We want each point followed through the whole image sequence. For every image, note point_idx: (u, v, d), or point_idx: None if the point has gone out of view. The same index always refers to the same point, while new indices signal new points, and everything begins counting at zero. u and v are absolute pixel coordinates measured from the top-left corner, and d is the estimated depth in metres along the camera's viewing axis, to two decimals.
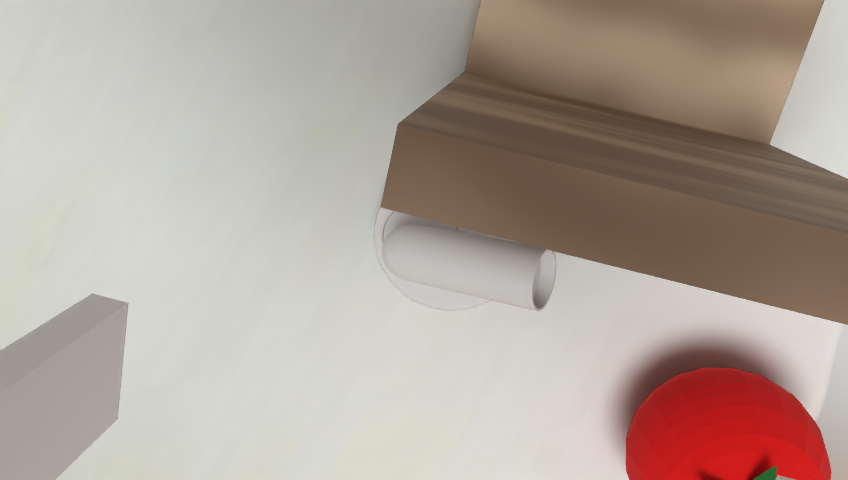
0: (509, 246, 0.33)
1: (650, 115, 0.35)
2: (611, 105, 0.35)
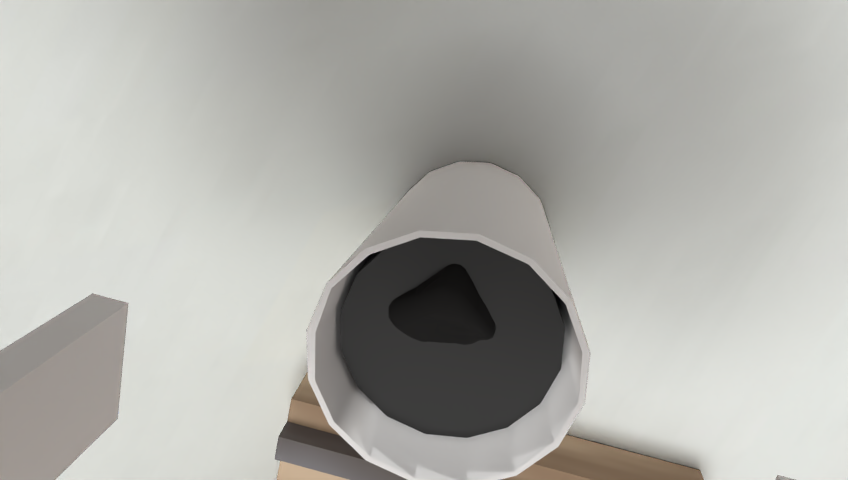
0: None
1: None
2: None
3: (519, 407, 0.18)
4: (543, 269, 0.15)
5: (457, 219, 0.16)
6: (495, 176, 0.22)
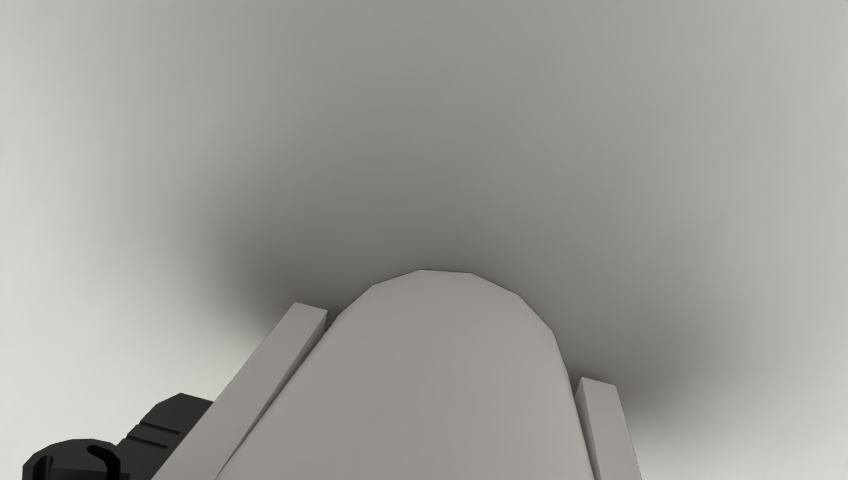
0: None
1: None
2: None
3: None
4: None
5: None
6: (477, 313, 0.13)
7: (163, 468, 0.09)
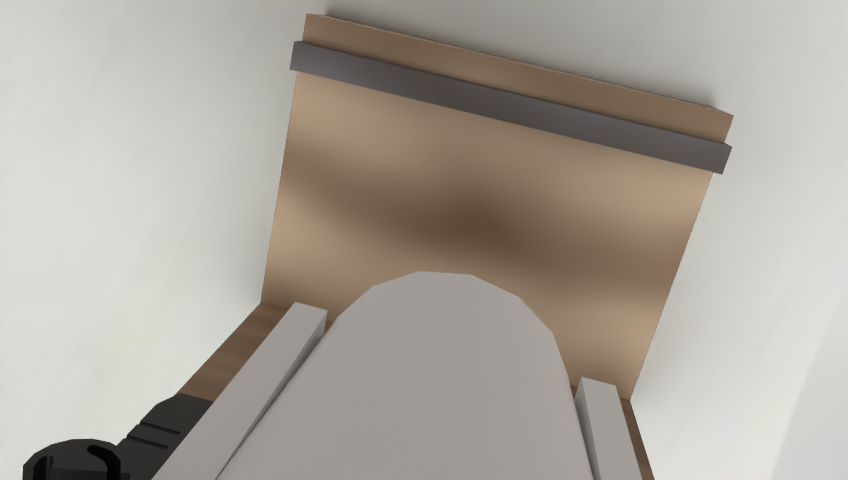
0: None
1: None
2: None
3: None
4: None
5: None
6: (477, 315, 0.13)
7: (163, 468, 0.09)
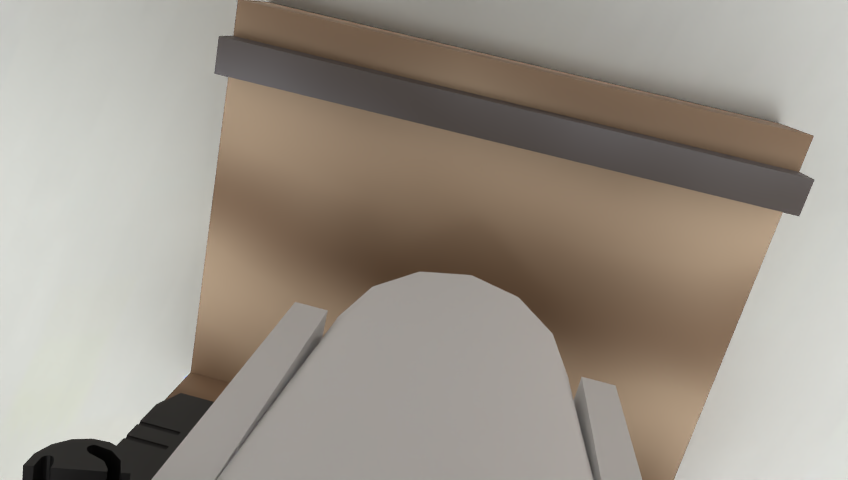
0: None
1: None
2: None
3: None
4: None
5: None
6: (477, 316, 0.13)
7: (163, 468, 0.09)
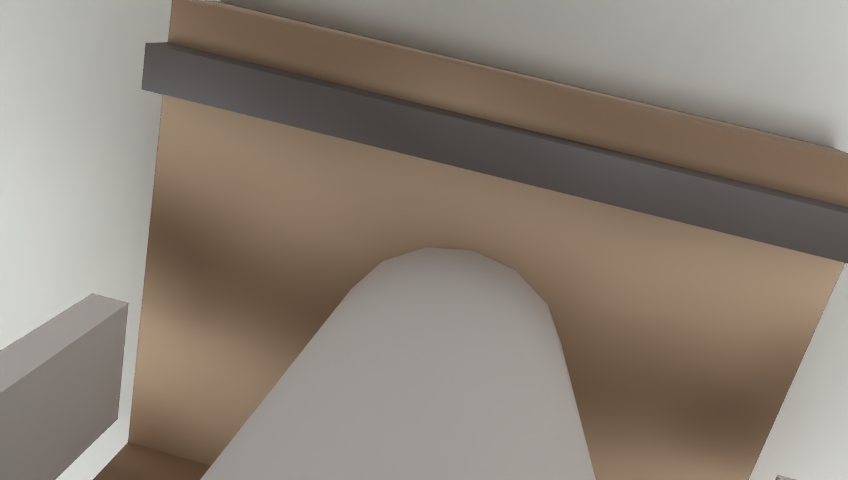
0: None
1: None
2: None
3: None
4: None
5: (389, 449, 0.08)
6: (478, 283, 0.14)
7: None
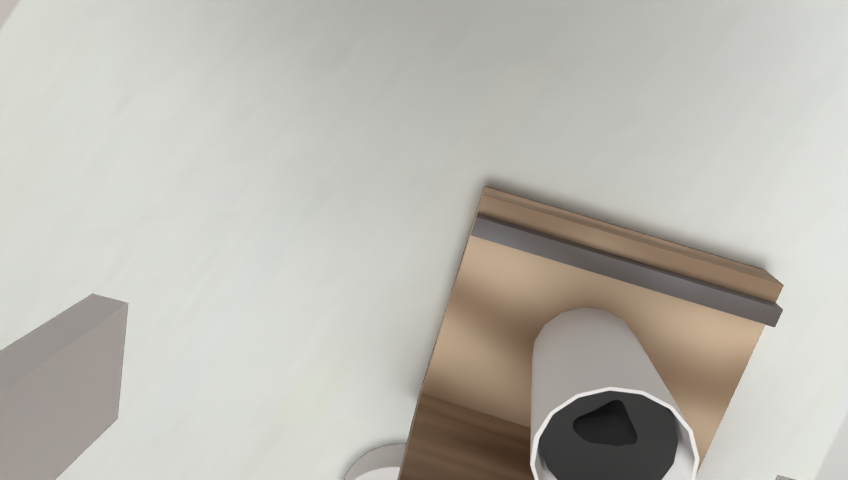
0: None
1: None
2: None
3: None
4: (677, 411, 0.27)
5: (623, 376, 0.28)
6: (615, 326, 0.34)
7: None
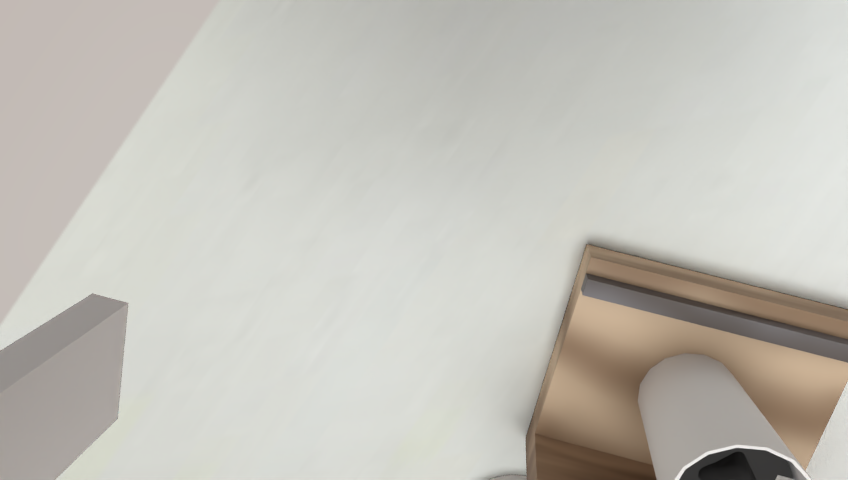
0: None
1: None
2: None
3: None
4: (798, 464, 0.30)
5: (745, 432, 0.31)
6: (719, 373, 0.38)
7: None
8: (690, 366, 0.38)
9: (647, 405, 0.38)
